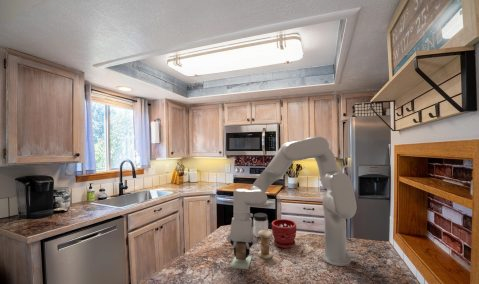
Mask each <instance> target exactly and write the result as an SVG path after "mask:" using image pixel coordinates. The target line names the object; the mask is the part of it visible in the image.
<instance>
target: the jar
mask: <svg viewBox="0 0 479 284" xmlns="http://www.w3.org/2000/svg"><path fill="white" fill-rule="evenodd" d="M252 225H253V235H254V236H255V238H261V237H260V236H258V232H259V231H261V230H268V231H269V220H268V215H267V213H264V212H257V213H254V214H253V219H252Z"/></svg>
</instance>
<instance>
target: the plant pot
mask: <svg viewBox="0 0 479 284" xmlns="http://www.w3.org/2000/svg"><path fill="white" fill-rule="evenodd" d="M280 225H282V226H280ZM271 232H272V237H273V243H274V245H275V246H277V247H278V248H282V249H291V248H293V247H294V246H295V245H296V241H295V239H296V237H297V223H296V222H295V221H293V220H292V219H286V218H282V219H281V218H279V219H275V220H273V221H272V222H271Z"/></svg>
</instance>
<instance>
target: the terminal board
mask: <svg viewBox="0 0 479 284" xmlns="http://www.w3.org/2000/svg"><path fill="white" fill-rule="evenodd" d="M252 258H253V257H252V255H251V256H249V255H248V257H247V258H246V260H238V259H236V257H235V256H234V257H233V259H232V261H231V264H230V268H232V269H241V270H249V268H250V266H251V261H252Z"/></svg>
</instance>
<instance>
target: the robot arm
mask: <svg viewBox="0 0 479 284" xmlns="http://www.w3.org/2000/svg"><path fill="white" fill-rule="evenodd" d="M313 158H314V160H315V162H316V165H317V168H318V172H319V179H320V184H321V186H322V187H323V188H324V189H326V190H328V192H327V193H325V194H324V196H323V198H322V209H323V215H324V216H323V217H324V225H323V226H324V251H323V252H322V253H321V256H320V257H321V259H322V260H323V261H324V262H325V263H327V264H329V265H332V266H337V267H347V266H349V265H350V264H351V260H352V259H355V260H358V259H359V255H358V254H357V253H354V252H353V251H348V250H347V249H348V248H347V219H348V220H349V219H351V218H353V217H354V216H355V215H356V212H357V209H358V207H357V200H356V195H355V191H354V186H353V182H352V180H351V178H350V177H349V175H347V174H346V173H344V172H342V171H339V168H338V164H337V160H336V159H337V158H336V157H335V154H334V153H333V151H332V150H331V148H330V144H329V141H328V140H327V139H326V138H325V137H323V136H318V135H317V136H309V137H307V138H304V139H301V140H296V141H287V142H285V143H283V144H282V145H281V146H280V147H279V149H278V151H277V152H276V153H275V155H274V156H273V158H272V159H271V161H270V162H269V163H268V165H267V167H265V169H263V171H262V172H261V173H260V174H259V175H258V177H257V178H256V179H255V181H254V182H253V184H252V185H251V186H250V188H249V189H247V188H243V187H242V188H239V187H238V188H235V189H234V190H233V217H232V218H231V223H230V233H229V234H228V236H227V237H226V241H227V242H229V244H231V245H232V247H233V254H234V257H236V242H237V241H239V242H246V246H247V247H246V258H247V257H248V256H249V255H250V250H251V249H250V248H251V247H252V246H253V245H255V244H256V243H257V242H258V240H257V237H256V236H255V235H254V234H253V219H252V218H254V214H253V213H251V210H250V209H251V206H253V207H263V206H264V205H266V203H267V201H268V196H267V193H266V192H267V191H268V190H269V188H270V187H271V185H273V183H275V182H276V181H278V180H280V179H282V178H283V177H284V176H285V174H286V173H287V171H288V170H289V169H290V167H291V165H292V164H293V162H296V161H303V160H308V159H313Z"/></svg>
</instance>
